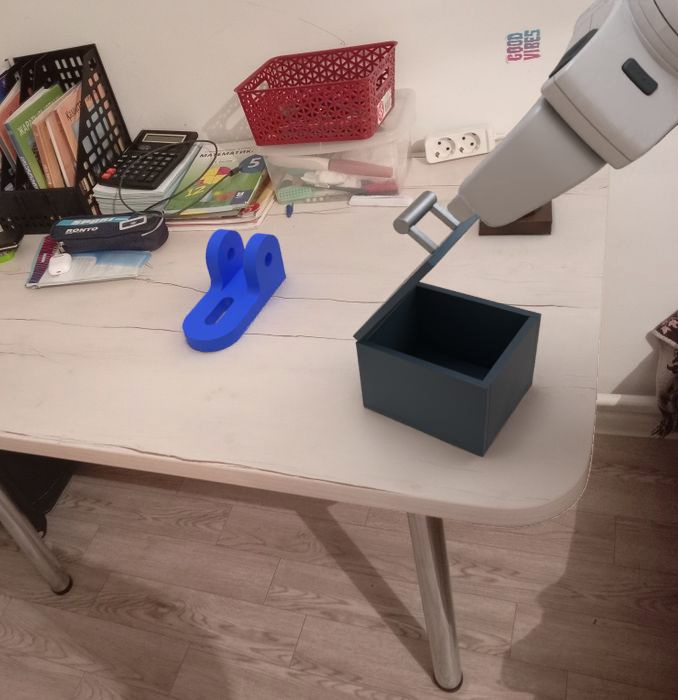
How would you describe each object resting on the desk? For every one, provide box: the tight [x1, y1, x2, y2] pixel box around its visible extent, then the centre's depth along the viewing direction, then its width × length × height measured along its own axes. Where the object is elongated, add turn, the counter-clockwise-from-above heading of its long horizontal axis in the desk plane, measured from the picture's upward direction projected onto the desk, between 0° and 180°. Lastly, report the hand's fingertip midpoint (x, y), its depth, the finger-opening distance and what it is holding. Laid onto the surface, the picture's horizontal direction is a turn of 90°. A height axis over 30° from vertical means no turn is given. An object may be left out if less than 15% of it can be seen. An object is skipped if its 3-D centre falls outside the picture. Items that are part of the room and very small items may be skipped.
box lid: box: [352, 190, 480, 342], centre depth 60 cm, size 14×12×5 cm
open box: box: [355, 281, 542, 458], centre depth 65 cm, size 14×12×10 cm
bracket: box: [181, 228, 287, 353], centre depth 86 cm, size 18×8×9 cm, turn 147°
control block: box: [478, 200, 553, 236], centre depth 87 cm, size 9×8×4 cm
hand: (484, 179), depth 49 cm, fingers open, 8 cm apart
